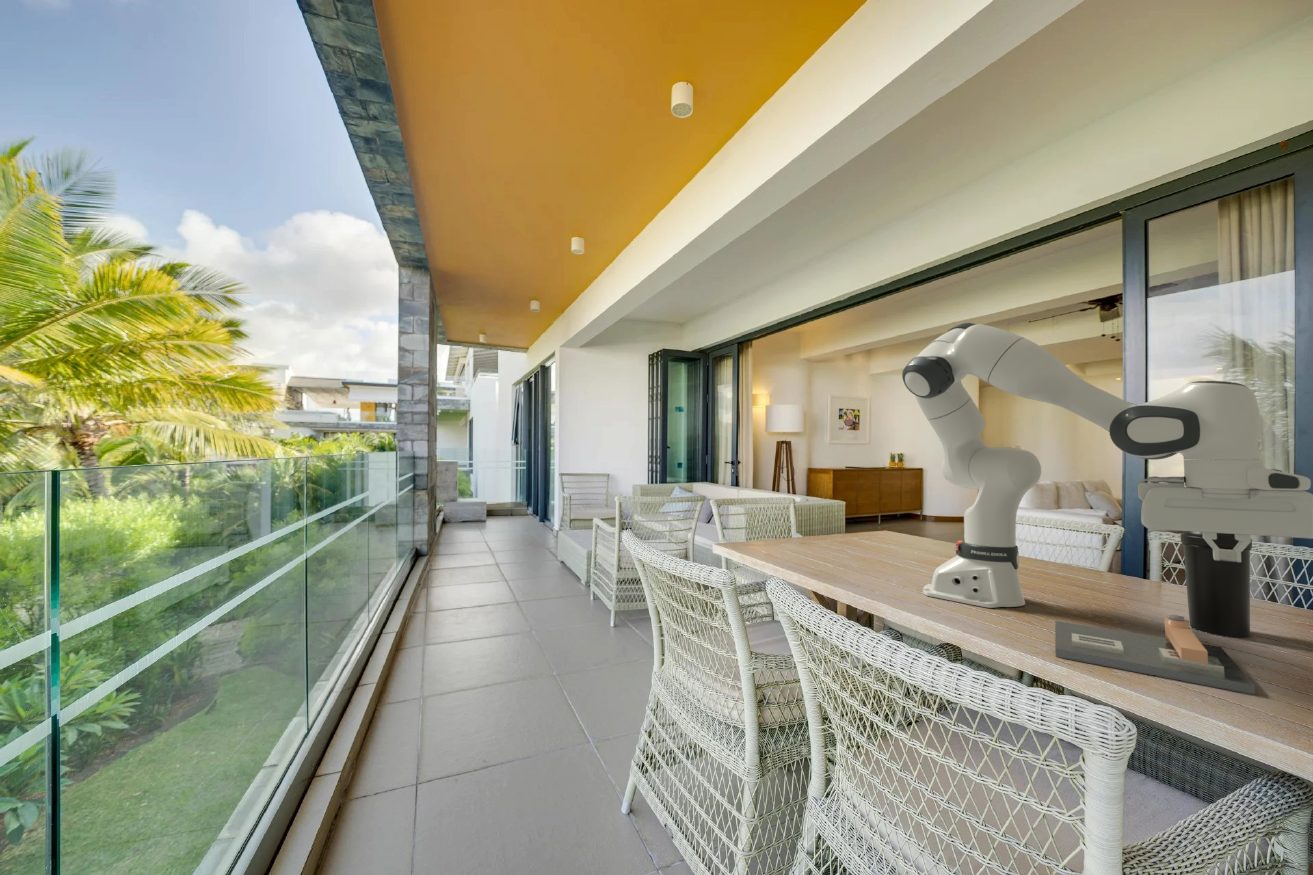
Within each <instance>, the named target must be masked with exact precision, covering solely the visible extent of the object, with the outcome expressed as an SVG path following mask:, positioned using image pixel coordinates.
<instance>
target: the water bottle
mask: <svg viewBox="0 0 1313 875" xmlns="http://www.w3.org/2000/svg"><path fill="white" fill-rule="evenodd" d="M1212 540H1213V542H1214V543H1215V544H1216V545H1217V546H1218V548H1219V549H1228V550H1233V548H1234V547H1235V546H1236V545H1237V543H1238V542H1239V541H1238V540H1236V539H1235V534H1226V533H1217V539H1216V540H1215V539H1212ZM1180 542H1181V544H1182V546H1183V559H1184V571H1185V582H1186V594H1187V595H1186V596H1187V597H1186V598H1187V605H1188V619H1189V620H1188V621H1189V627H1190V626H1191V627H1192V628H1191V627H1190V628H1191V629H1193V628H1195V629H1196V631H1198V630H1200V631H1199V632H1201V631H1202V633H1205V632H1207V633H1206V634H1209V633H1210V635H1214V634H1216V635H1215V636H1219V635H1220V636H1221V637H1226V636H1228V637H1227V638H1233V639H1234V638H1236V639H1246V638H1248V639H1249V638H1250V637H1251V551H1252V549H1253V539H1252V538H1251V542H1250V543H1249V545H1248V546H1247V547H1246V548H1245V549H1244V550H1243V551H1242V552H1241V562H1231V561H1218V560H1214V558H1213V549H1212V548H1211V547H1210V546H1209V544H1208V543H1207V542H1206V541H1205V540H1204V539H1203V535H1202V532H1193V531H1182V532H1181V533H1180ZM1195 629H1194V630H1195ZM1220 636H1219V637H1220Z"/></svg>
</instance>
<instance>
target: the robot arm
mask: <svg viewBox="0 0 1313 875" xmlns="http://www.w3.org/2000/svg"><path fill="white" fill-rule="evenodd" d="M967 375H971V376H974V377H976V378H978V379H980V380H982V381H983V382H985V383H987V384H989V385H991V386H993V387H995V388H996V389H998V390H1001V391H1003V392H1006V393H1009V394H1011V395H1015V396H1017V397H1021V398H1024V399H1028V400H1031V401H1032V400H1033V401H1038V402H1042V403H1046V404H1051V405H1054V406H1057V407H1060V408H1063V409H1065V410H1067V411H1069V412H1071V413H1073V414H1075V415H1078V416H1080V417H1081V418H1083V419H1085V420H1088V422H1091V423H1093V424H1095V425H1097V426H1099V427H1101V428H1102V429H1104V430H1105V431H1107V432H1109V437H1110V439H1111V441H1112V443H1113V444H1114V445H1115V447H1117V449H1120V450H1121V451H1122V452H1124V453H1125V454H1127V455H1130V456H1132V457H1133V456H1134V457H1137V458H1140V459H1144V460H1152V461H1153V460H1163V459H1167V458H1171V457H1173V456H1175V455H1177V454H1180V455H1182V456H1183V457H1182V458H1183V473H1184V474H1183V475H1184V476H1161V477H1160V476H1155V475H1154V476H1148V478H1144V479H1142V480H1140V481H1139V482H1138V484H1137V487H1136V488H1137V496H1138V498H1139V499H1140V500H1141V501H1142V503H1141V509H1140V510H1141V511H1140V512H1141V513H1140V522H1141V524H1142V526H1144V528H1146V529H1148V530H1163V531H1177V532H1178V531H1179V532H1184V531H1193V532H1202V535H1203V539H1204V540H1205V541H1206V542H1207V543H1208V544H1209V546H1210V547H1211V548H1212V549H1213V558H1214V560H1218V561H1231V562H1241V552H1242V551H1243V550H1244V549H1245V548H1246V547H1247V546H1248V545H1249V543H1250V542H1251V539H1252V538H1251V536H1260V537H1261V536H1262V537H1264V536H1265V537H1279V538H1292V539H1293V538H1294V539H1295V538H1297V539H1310V540H1311V539H1312V540H1313V493H1311V492H1308V490H1310V488H1311V485H1312V481H1311V479H1310V478H1309V477H1307V476H1303V475H1302V474H1301V475H1300V474H1295V473H1290V472H1286V471H1283V470H1280V469H1276V468H1275V469H1274V468H1265V466H1264V461H1263V458H1264V457H1263V455H1262V453H1261V451H1260V448H1259V439H1260V437H1261V434H1262V429H1261V428H1262V427H1261V426H1262V425H1261V416H1260V415H1261V414H1260V408H1259V404H1258V400H1257V397H1256V395H1255V392H1254V391H1253V390H1252V389H1251V388H1250V387H1248V386H1246V385H1244V384H1242V383H1238V382H1232V381H1221V380H1220V381H1219V380H1199V381H1192V382H1189V383H1186V384H1185V385H1183V386H1182V387H1181V388H1179V389H1177V390H1175V391H1173V392H1171V393H1169V394H1166V395H1164V396H1162V397H1159V398H1155V399H1153V400H1151V401H1147V402H1144V403H1140V404H1135V403H1131V402H1129V401H1127V400H1125V399H1123V398H1120V397H1118V396H1116V395H1114V394H1112V393H1110V392H1107V391H1106V390H1103V389H1102V388H1100V387H1097V386H1095V385H1093V384H1091V383H1089V382H1088V381H1086V380H1084V379H1082V378H1081V377H1080V376H1078V375H1077V374H1076V373H1075V372H1073V371H1072V370H1071V369H1070V368H1069V367H1068V366H1067V365H1066V364H1065V363H1064V362H1063V361H1062V360H1060V359H1059V357H1056V355H1054V354H1053V353H1052V352H1050V351H1048V349H1045V348H1044V347H1042V346H1041V345H1040V344H1037V343H1036V342H1034V341H1032V340H1031V339H1030V340H1029V339H1028V338H1026V337H1024V336H1021V335H1019V334H1017V333H1015V332H1014V333H1013V332H1011V331H1008V330H1005V329H1002V328H999V327H996V326H992V325H987V324H982V323H981V324H980V323H979V324H976V323H973V322H963V323H961V324H958V325H957V324H956V325H955V326H953V327H951V328H949V329H948V330H947V331H946V332H945V333H943V334H941V335H939V336H938V337H937V338H935V339H934V340H932V341H931V342H930V343H929V344H928V345H927V346H926V347H924V349H923V350H921V351H920V353H918V354H917V355H916V356H915V357H913V358H911V359H910V360H909V361H908V363H907V364H905V366H904V368H903V370H902V381H903V383H904V386H905V388H907V390H909V392H910V393H911V394H912V395H914V397H915V399H916V402H917V403H918V405H919V407H920V409H921V411H922V414H924V416H925V418H926V420H928V421H927V422H929V425H931V427H932V429H933V430H934V432H935V433H936V434H935V435H937V437H938V438H939V441H940V442H941V445H942V447H943V450H944V451H943V452H944V458H943V459H942V462H941V472H942V475H943V477H944V479H945V480H946V482H947V481H948V482H949V483H951V484H953V485H955V486H957V487H960V488H961V487H962V488H964V489H974V490H978V492H977V495H976V499H975V501H974V503H973V504H972V505H971V506H969V507H968V508H967V509H966V510H965V511H964V514H963V527H964V528H963V529H964V530H963V531H964V532H963V533H964V534H963V537H964V538H963V539H964V540H958V541H957V542H956V543H955V554H956V555H955V556H954V557H952V558H950V559H948V560H946V561H945V562H943V563H942V564H940V565H939V566H937V567H936V569H934V571H933V575H932V580H931V582H930V583H927V584H925V585H924V586H923V588H922V593H923V594H924V595H925V596H928V597H932V598H936V599H941V600H948V601H952V602H958V603H963V604H967V605H973V606H978V607H982V608H987V609H988V608H989V609H991V608H1001V607H1003V608H1004V607H1005V608H1012V607H1013V608H1015V607H1022V606H1025V605H1026V601H1025V599H1024V598H1025V597H1024V595H1023V591H1022V588H1021V584H1020V579H1019V577H1020V576H1019V571H1018V570H1019V566H1020V553H1019V548H1018V545H1016V541H1017V540H1016V532H1017V528H1016V524H1017V523H1016V522H1017V521H1016V520H1017V513H1018V509H1019V506H1020V504H1021V501H1022V500H1023V498H1024V496H1025V494H1026V493H1028V491H1029V490H1030V489H1031V488H1033V487H1034V486H1036V485H1037V483H1038V482H1039V480H1040V478H1041V474H1042V466H1041V462H1040V461H1039V459H1038V457H1037V456H1036V455H1035V454H1034V453H1033V452H1031V451H1028V450H1025V449H1022V448H1016V447H1010V446H1009V447H1008V446H1001V447H998V446H997V447H989V446H987V445H986V444H985V443H984V441H983V438H982V435H981V434H982V433H983V432H984V430H985V427H986V419H985V417H984V415H983V414H982V413H981V411H980V409H979V408H978V407H977V405H976V403H975V402H974V400H973V399H972V397H971V396H970V394H969V393H968V391H967V389H966V388H965V387H964V385H963V383H962V380H963V379H965V377H966V376H967ZM1217 533H1226V534H1235V539H1236V540H1238V541H1239V542H1238V543H1237V545H1236V546H1235V547H1234V548H1233V550H1228V549H1219V548H1218V546H1217V545H1216V544H1215V543H1214V542H1213V540H1212V539H1215V540H1216V539H1217Z"/></svg>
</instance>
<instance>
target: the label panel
mask: <svg viewBox="0 0 1313 875" xmlns="http://www.w3.org/2000/svg"><path fill="white" fill-rule="evenodd" d="M1054 624H1055V626H1054V628H1055V635H1054V636H1055V638H1054V639H1055V640H1054V642H1055V645H1054V647H1055V648H1054V649H1055V657H1056V658H1061V659H1066V660H1071V661H1077V662H1079V663H1080V662H1082V663H1085V664H1087V663H1088V664H1091V665H1096V666H1097V665H1098V666H1102V667H1106V668H1113V669H1118V670H1123V671H1128V672H1133V673H1139V674H1143V673H1144V675H1148V674H1149V676H1153V675H1156V676H1155V677H1159V678H1164V679H1169V680H1176V681H1179V680H1181V681H1180V682H1184V683H1190V682H1191V684H1194V685H1202V686H1206V687H1211V688H1216V689H1217V688H1218V689H1221V688H1222V689H1221V690H1226V691H1232V692H1238V693H1243V694H1248V695H1253V696H1255V695H1256V694H1255V692H1256V691H1255V690H1256V689H1255V684H1254V683H1253V682H1252V680H1251V679H1250V678H1249V677H1248V676H1247V675H1246V674H1245V672H1244V671H1243V670H1242V669H1241V668H1240V667H1239V666H1238V664H1236V663H1235V661H1234V660H1233V659H1232V658H1231V656H1229V654H1228V653H1227V651H1225V650H1224V649H1223V647H1222V646H1220V645H1219V646H1217V645H1212V644H1205V643H1201V644H1202V645H1203V647H1204V648H1205V649H1206V650H1207V652H1208V664H1204V663H1199V662H1193V661H1187V660H1182V659H1181V658H1180V656H1179V655H1178V653H1177V651H1176V650H1175V648H1174V646H1173V645H1172V643H1169V642H1167V641H1166V639H1165V637H1161V636H1156V635H1148V634H1142V633H1138V632H1137V633H1134V632H1129V631H1122V630H1118V629H1117V630H1116V629H1112V628H1111V629H1110V628H1105V627H1099V626H1098V627H1097V626H1092V625H1085V624H1078V623H1073V622H1066V621H1065V622H1064V621H1059V620H1055V623H1054Z"/></svg>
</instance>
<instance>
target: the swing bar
mask: <svg viewBox="0 0 1313 875" xmlns="http://www.w3.org/2000/svg"><path fill="white" fill-rule="evenodd" d="M1164 631H1165V632H1164V635H1165V637H1164V638H1165V639H1166V641H1167V642H1169V643H1172V645H1173V646H1174V648H1175V650H1176V651H1177V653H1178V655H1179V656H1180V658H1181V659H1182V660H1187V661H1193V662H1199V663H1204V664H1208V652H1207V650H1206V649H1205V648H1204V647H1203V645H1202V644H1203V643H1201V641H1200V640H1199V639H1198V637H1197V636H1196V635H1195V633H1194V632H1193V631H1192V630H1191V629H1190V621H1189V620H1187V619H1185V617H1184V616H1182V615H1177V614H1169V615H1168V616H1165V617H1164Z"/></svg>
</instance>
